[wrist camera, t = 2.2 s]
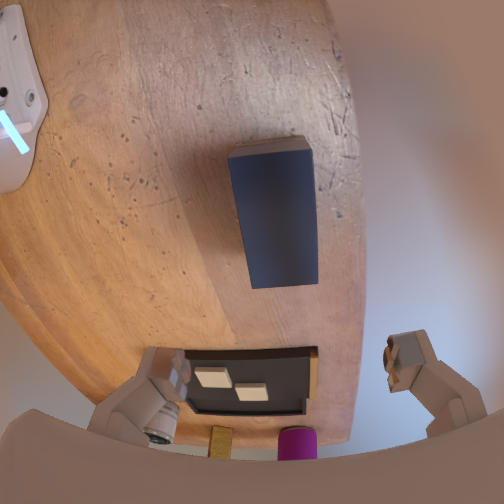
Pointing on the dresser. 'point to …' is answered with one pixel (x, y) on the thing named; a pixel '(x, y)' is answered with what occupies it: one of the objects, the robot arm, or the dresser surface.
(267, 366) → the slate board
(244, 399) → the chalk tile
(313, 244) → the eraser
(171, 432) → the camera lens
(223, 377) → the chalk tile
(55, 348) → the dresser surface
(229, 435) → the candy box
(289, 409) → the tray
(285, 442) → the beverage can
